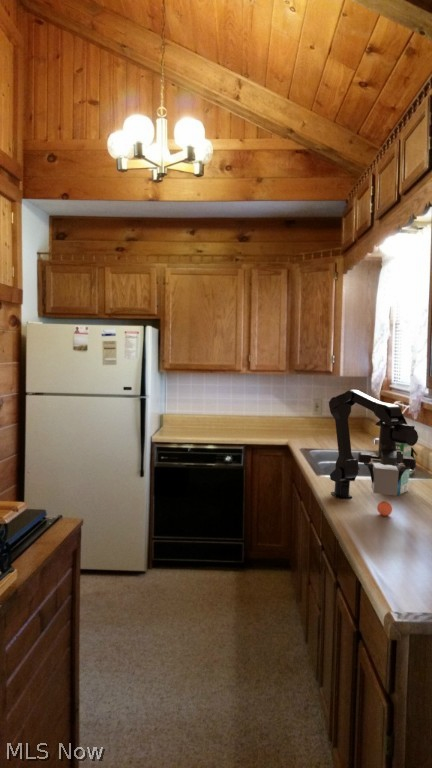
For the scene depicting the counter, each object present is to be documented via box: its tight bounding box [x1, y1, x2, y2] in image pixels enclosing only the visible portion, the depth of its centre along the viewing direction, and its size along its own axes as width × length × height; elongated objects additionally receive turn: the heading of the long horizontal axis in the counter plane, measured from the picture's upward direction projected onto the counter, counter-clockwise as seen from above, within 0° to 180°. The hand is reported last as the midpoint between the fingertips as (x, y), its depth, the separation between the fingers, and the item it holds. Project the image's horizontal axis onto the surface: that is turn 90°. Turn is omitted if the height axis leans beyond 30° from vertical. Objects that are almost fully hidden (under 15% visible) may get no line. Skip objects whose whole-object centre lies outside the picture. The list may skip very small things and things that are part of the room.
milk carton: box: [379, 442, 412, 496], centre depth 193 cm, size 9×9×25 cm
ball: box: [377, 501, 393, 517], centre depth 162 cm, size 5×5×5 cm
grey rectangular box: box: [370, 462, 399, 497], centre depth 163 cm, size 8×8×9 cm
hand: (384, 483), depth 163 cm, fingers closed on grey rectangular box, 8 cm apart
